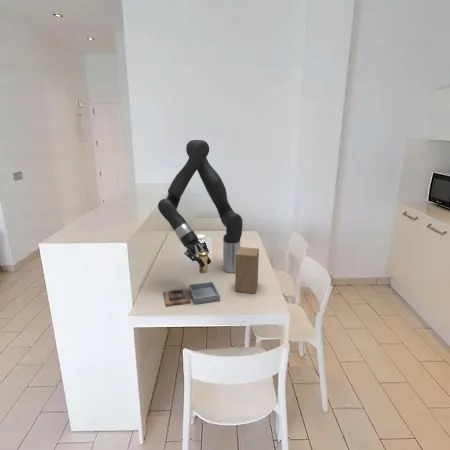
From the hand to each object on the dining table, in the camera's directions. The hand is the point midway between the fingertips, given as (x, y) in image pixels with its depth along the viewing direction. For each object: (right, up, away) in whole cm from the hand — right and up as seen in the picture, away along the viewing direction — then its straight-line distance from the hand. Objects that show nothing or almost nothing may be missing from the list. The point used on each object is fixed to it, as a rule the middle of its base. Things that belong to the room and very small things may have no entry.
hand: (206, 264), depth 154 cm
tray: (-2, -15, +6) cm, 17 cm away
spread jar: (-8, +1, +58) cm, 59 cm away
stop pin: (-2, -3, +2) cm, 4 cm away
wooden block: (+19, -13, +13) cm, 27 cm away
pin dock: (-14, -16, +3) cm, 22 cm away
